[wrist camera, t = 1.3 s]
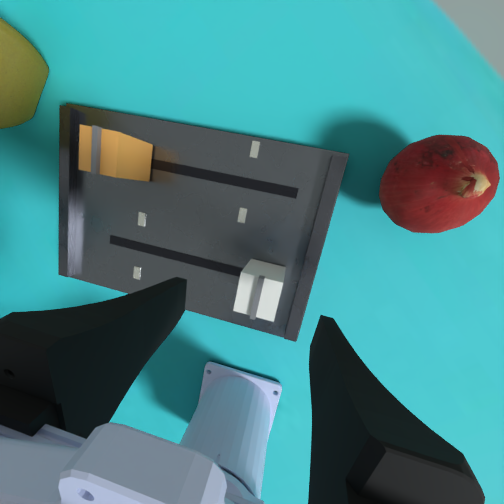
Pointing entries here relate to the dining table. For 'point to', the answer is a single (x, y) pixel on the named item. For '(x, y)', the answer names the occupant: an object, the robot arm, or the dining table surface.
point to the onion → (438, 183)
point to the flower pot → (19, 77)
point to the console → (197, 214)
